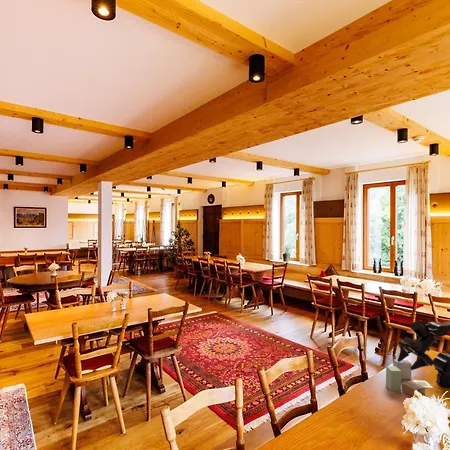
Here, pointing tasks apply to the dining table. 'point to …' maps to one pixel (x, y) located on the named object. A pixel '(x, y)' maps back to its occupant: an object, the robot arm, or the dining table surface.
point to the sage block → (393, 378)
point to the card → (423, 383)
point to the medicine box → (403, 368)
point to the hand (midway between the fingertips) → (404, 365)
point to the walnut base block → (412, 387)
